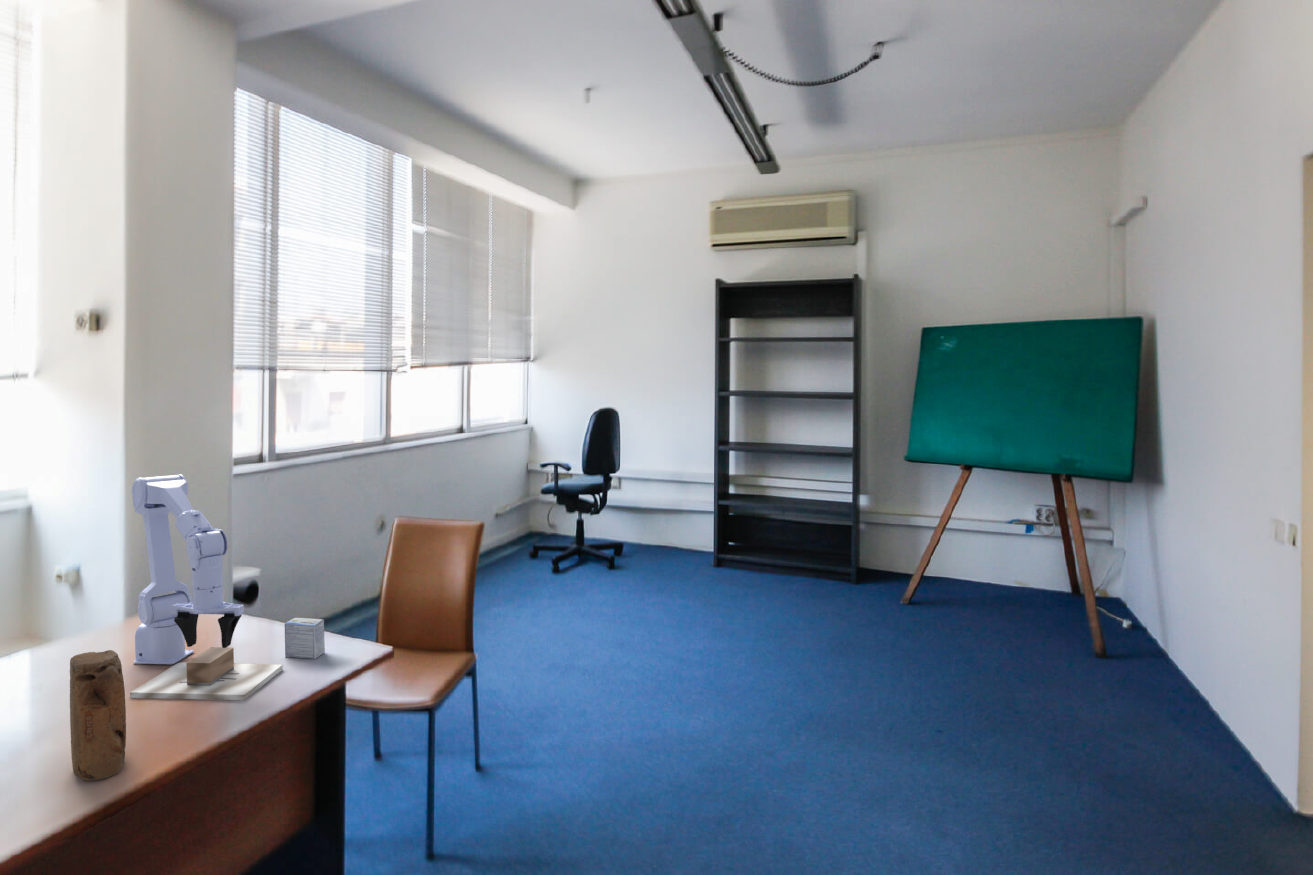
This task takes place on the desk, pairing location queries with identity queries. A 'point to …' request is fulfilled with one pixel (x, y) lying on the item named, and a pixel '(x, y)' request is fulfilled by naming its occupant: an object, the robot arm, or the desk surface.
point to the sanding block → (210, 666)
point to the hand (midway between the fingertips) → (209, 645)
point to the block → (97, 714)
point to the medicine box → (304, 638)
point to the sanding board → (226, 688)
